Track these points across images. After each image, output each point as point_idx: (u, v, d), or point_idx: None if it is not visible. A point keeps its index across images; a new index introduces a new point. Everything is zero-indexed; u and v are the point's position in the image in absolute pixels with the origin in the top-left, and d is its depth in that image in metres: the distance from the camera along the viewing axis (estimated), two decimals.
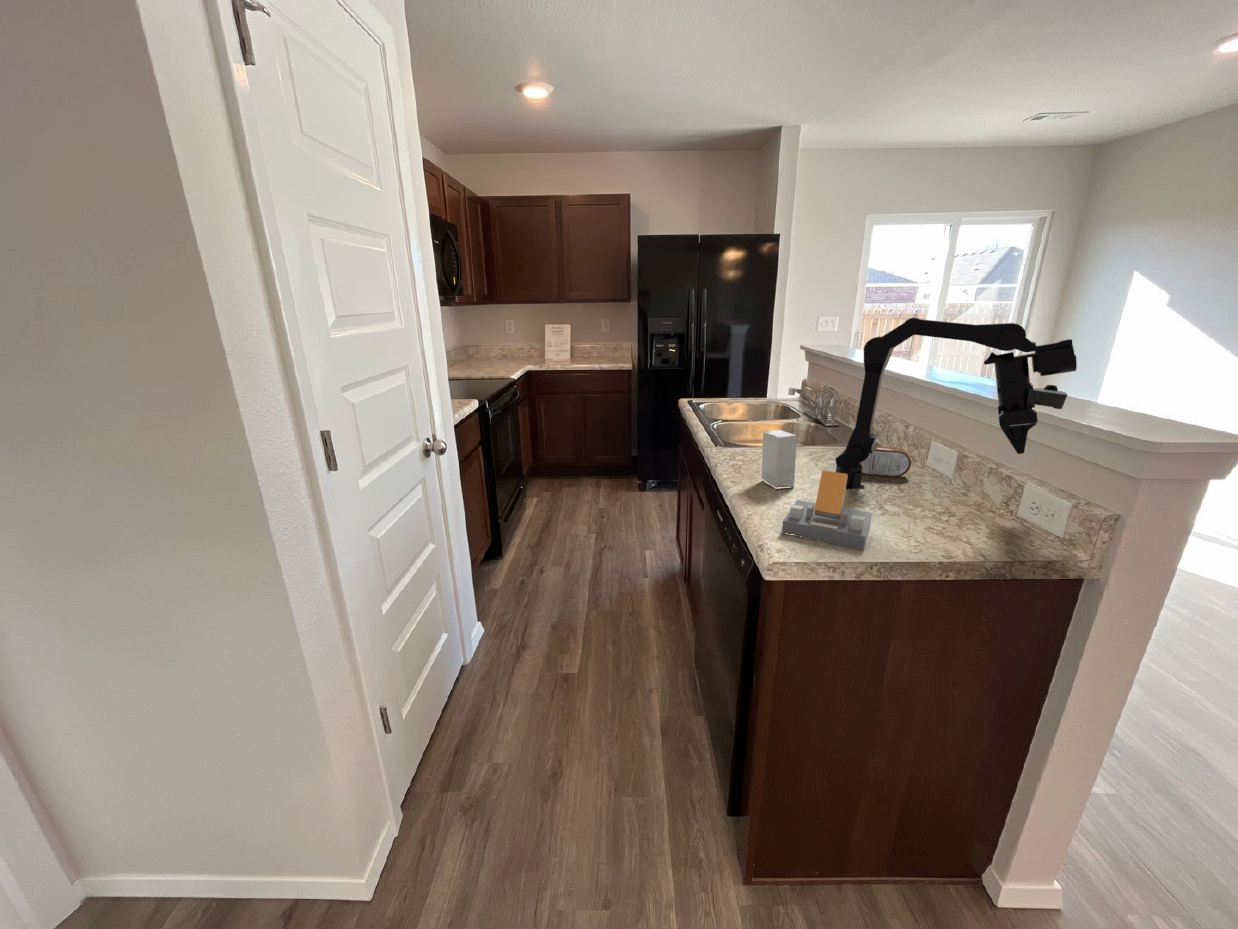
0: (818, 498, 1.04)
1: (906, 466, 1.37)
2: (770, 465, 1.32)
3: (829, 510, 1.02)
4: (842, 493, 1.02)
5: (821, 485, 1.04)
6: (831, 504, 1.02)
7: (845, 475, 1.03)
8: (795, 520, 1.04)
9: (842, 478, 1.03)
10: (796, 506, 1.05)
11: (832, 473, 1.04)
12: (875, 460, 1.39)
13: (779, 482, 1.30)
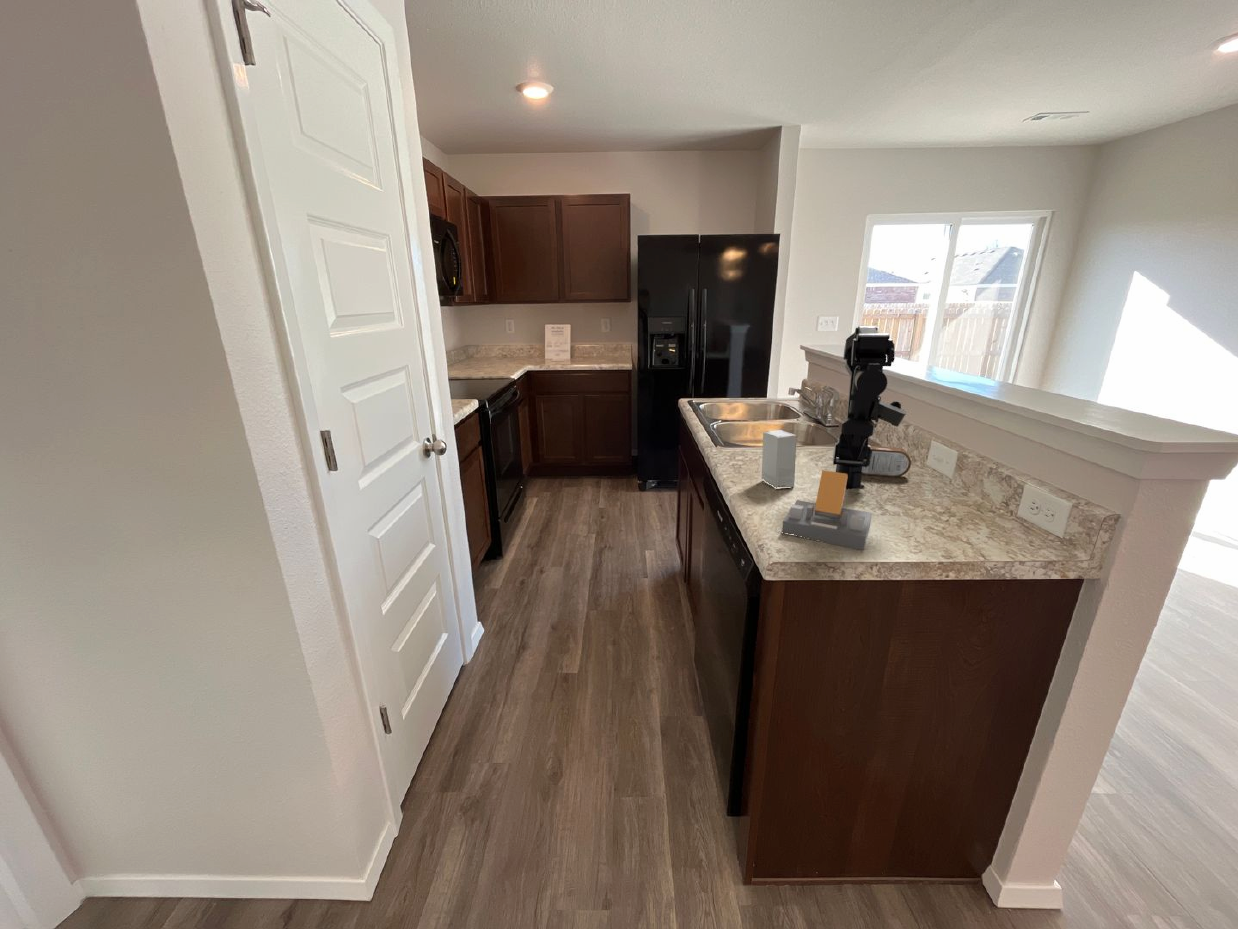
0: (818, 498, 1.04)
1: (906, 466, 1.37)
2: (770, 465, 1.32)
3: (829, 510, 1.02)
4: (842, 493, 1.02)
5: (821, 485, 1.04)
6: (831, 504, 1.02)
7: (845, 475, 1.03)
8: (795, 520, 1.04)
9: (842, 478, 1.03)
10: (796, 506, 1.05)
11: (832, 473, 1.04)
12: (875, 460, 1.39)
13: (779, 482, 1.30)
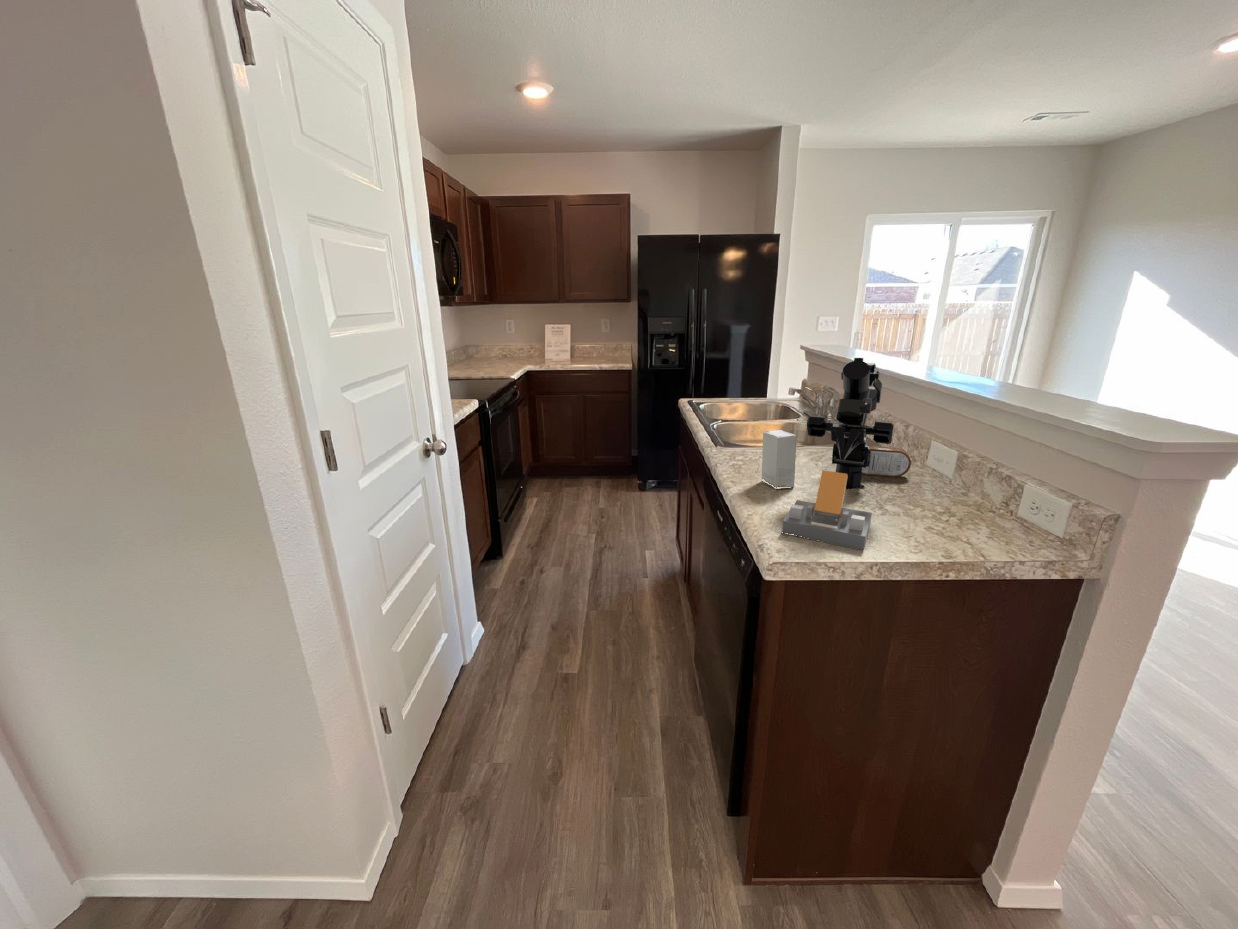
0: (818, 498, 1.04)
1: (906, 466, 1.37)
2: (770, 465, 1.32)
3: (829, 510, 1.02)
4: (842, 493, 1.02)
5: (821, 485, 1.04)
6: (831, 504, 1.02)
7: (845, 475, 1.03)
8: (795, 520, 1.04)
9: (842, 478, 1.03)
10: (796, 506, 1.05)
11: (832, 473, 1.04)
12: (875, 460, 1.39)
13: (779, 482, 1.30)
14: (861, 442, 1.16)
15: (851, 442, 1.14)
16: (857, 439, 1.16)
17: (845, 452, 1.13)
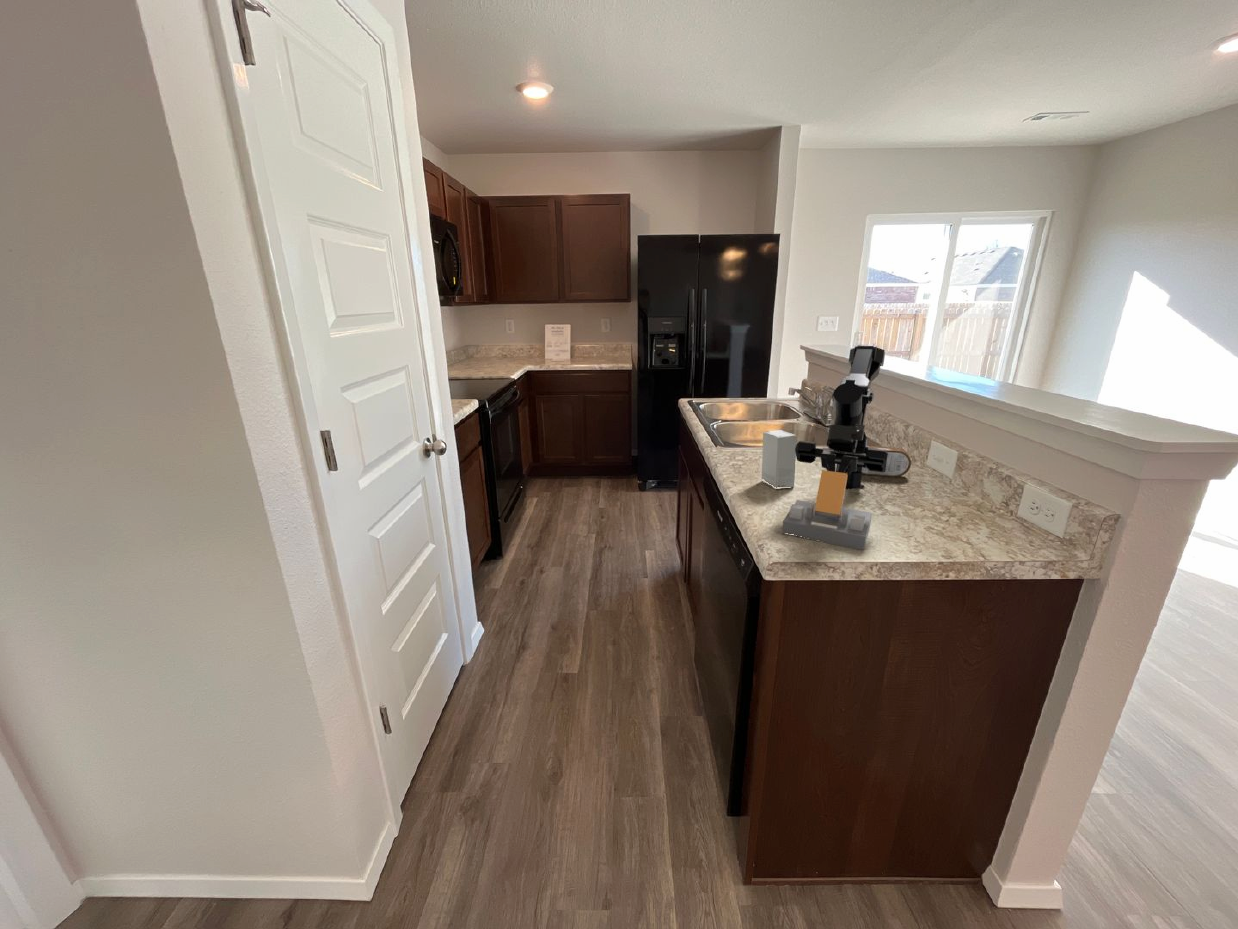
0: (818, 498, 1.04)
1: (906, 466, 1.37)
2: (770, 465, 1.32)
3: (829, 510, 1.02)
4: (842, 493, 1.02)
5: (821, 485, 1.04)
6: (831, 504, 1.02)
7: (845, 475, 1.02)
8: (795, 520, 1.04)
9: (842, 478, 1.03)
10: (796, 506, 1.05)
11: (832, 473, 1.04)
12: None
13: (779, 482, 1.30)
14: (853, 470, 1.08)
15: (842, 471, 1.06)
16: (849, 467, 1.08)
17: None
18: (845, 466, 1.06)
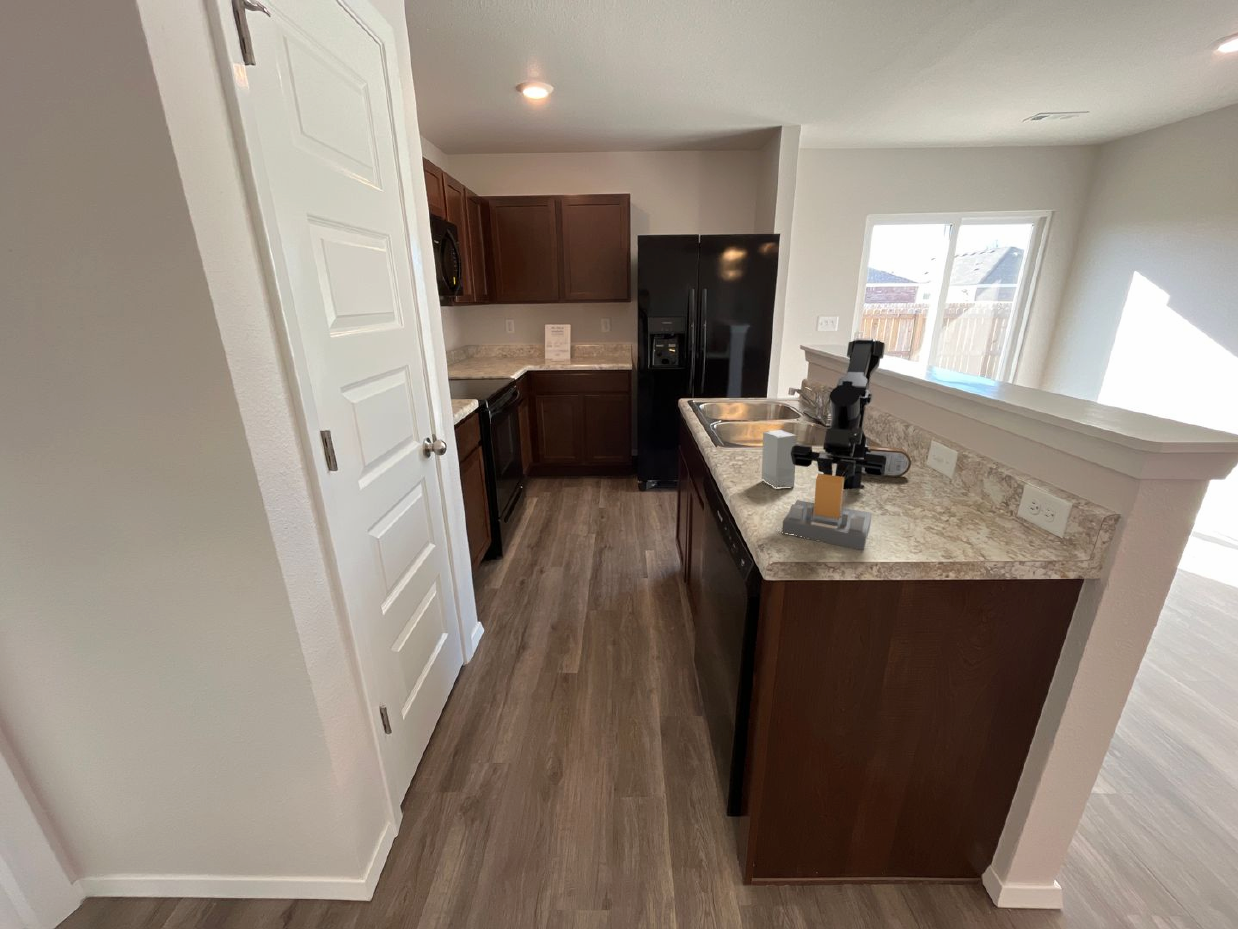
0: (816, 504, 1.02)
1: (906, 466, 1.37)
2: (770, 465, 1.32)
3: (828, 515, 1.02)
4: (839, 501, 0.99)
5: (817, 493, 1.01)
6: (829, 510, 1.01)
7: (840, 484, 0.97)
8: (795, 520, 1.04)
9: (838, 487, 0.98)
10: (796, 506, 1.05)
11: (826, 482, 0.98)
12: None
13: (779, 482, 1.30)
14: (851, 474, 1.05)
15: None
16: (846, 471, 1.04)
17: None
18: (842, 471, 1.02)
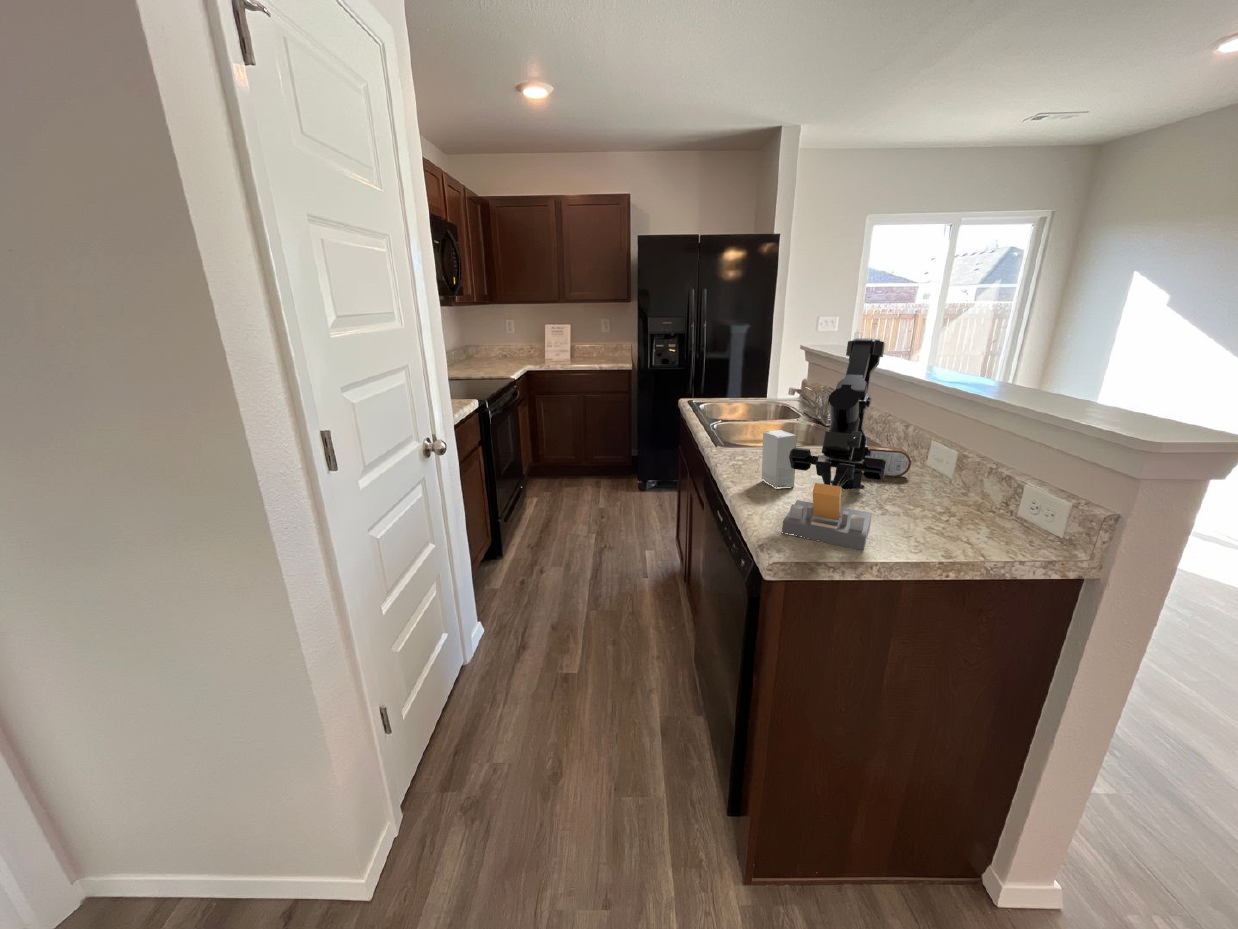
0: (815, 509, 1.02)
1: (906, 466, 1.37)
2: (770, 465, 1.32)
3: (828, 517, 1.02)
4: (838, 508, 0.98)
5: (815, 501, 1.00)
6: (829, 514, 1.01)
7: (837, 497, 0.95)
8: (795, 520, 1.04)
9: (835, 499, 0.96)
10: (796, 506, 1.05)
11: (823, 495, 0.97)
12: None
13: (779, 482, 1.30)
14: (850, 478, 1.03)
15: (838, 480, 1.01)
16: (845, 475, 1.03)
17: None
18: (841, 475, 1.01)
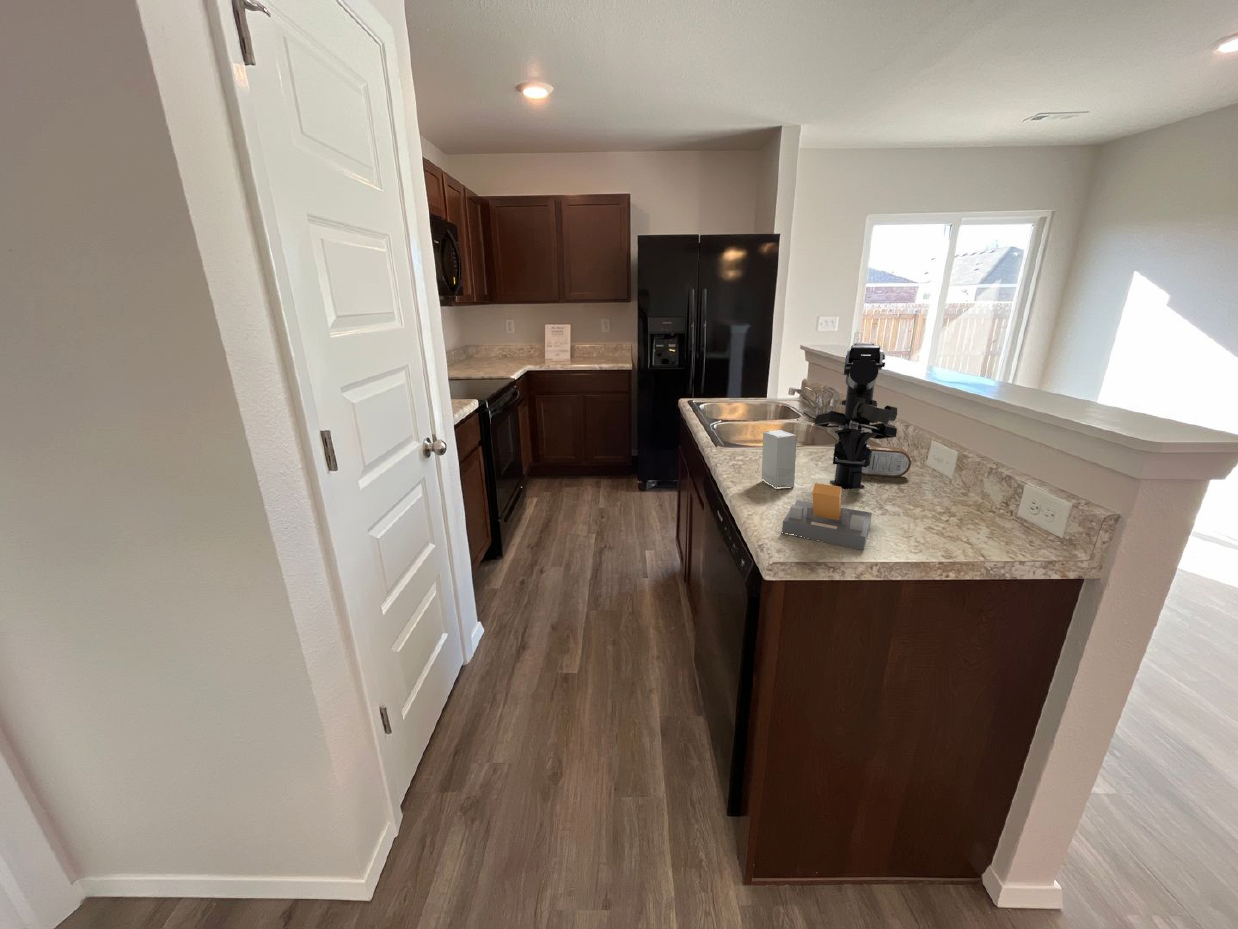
0: (815, 509, 1.02)
1: (906, 466, 1.37)
2: (770, 465, 1.32)
3: (828, 517, 1.02)
4: (837, 508, 0.98)
5: (815, 501, 1.00)
6: (829, 514, 1.01)
7: (837, 497, 0.95)
8: (795, 520, 1.04)
9: (835, 499, 0.96)
10: (796, 506, 1.05)
11: (823, 495, 0.97)
12: (875, 460, 1.39)
13: (779, 482, 1.30)
14: None
15: (862, 445, 1.13)
16: None
17: (856, 455, 1.13)
18: (865, 440, 1.13)
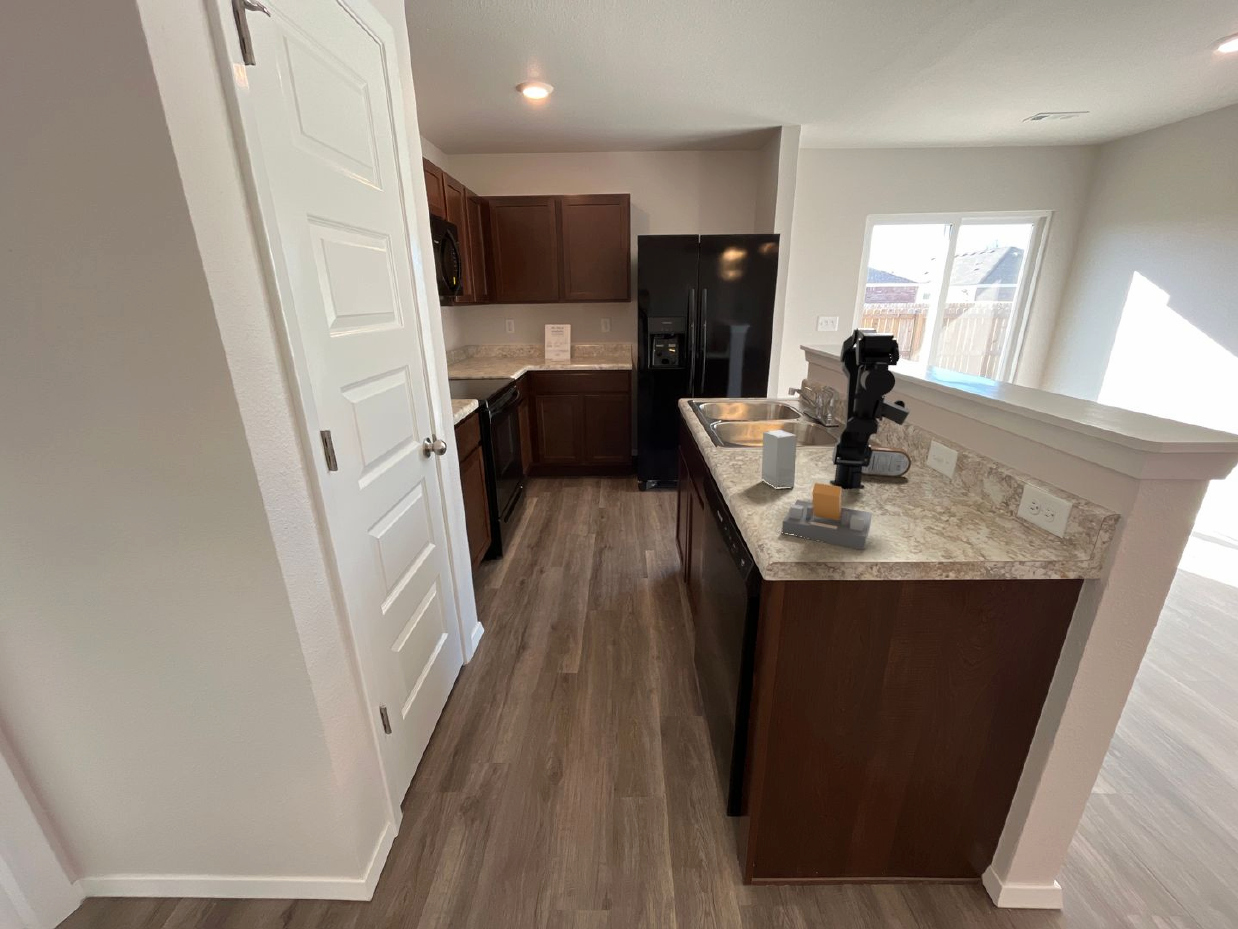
0: (815, 509, 1.02)
1: (906, 466, 1.37)
2: (770, 465, 1.32)
3: (828, 517, 1.02)
4: (837, 508, 0.98)
5: (815, 501, 1.00)
6: (829, 514, 1.01)
7: (837, 497, 0.95)
8: (795, 520, 1.04)
9: (835, 499, 0.96)
10: (796, 506, 1.05)
11: (823, 495, 0.97)
12: (875, 460, 1.39)
13: (779, 482, 1.30)
14: None
15: (869, 437, 1.15)
16: None
17: (865, 448, 1.15)
18: None
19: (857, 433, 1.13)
